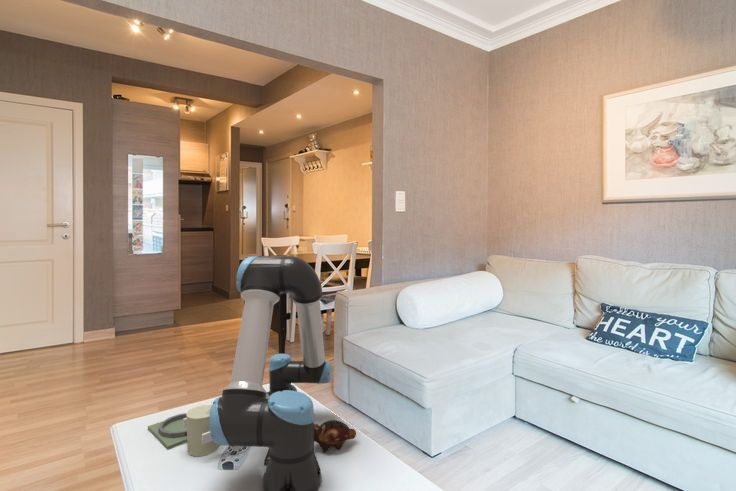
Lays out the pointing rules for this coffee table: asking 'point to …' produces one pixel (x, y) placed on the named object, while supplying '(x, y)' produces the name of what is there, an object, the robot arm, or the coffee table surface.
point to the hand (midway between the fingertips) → (192, 431)
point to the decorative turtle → (332, 434)
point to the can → (199, 431)
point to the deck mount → (170, 431)
